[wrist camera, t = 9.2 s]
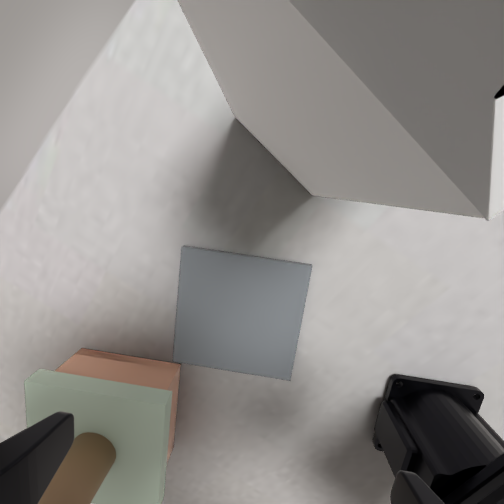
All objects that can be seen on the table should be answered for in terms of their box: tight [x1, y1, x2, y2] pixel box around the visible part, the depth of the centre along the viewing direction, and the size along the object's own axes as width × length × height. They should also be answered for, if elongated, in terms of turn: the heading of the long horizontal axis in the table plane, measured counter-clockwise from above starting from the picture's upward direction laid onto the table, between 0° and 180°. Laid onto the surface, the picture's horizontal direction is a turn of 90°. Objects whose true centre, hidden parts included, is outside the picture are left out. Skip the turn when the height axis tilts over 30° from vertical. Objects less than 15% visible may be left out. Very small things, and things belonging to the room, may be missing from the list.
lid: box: [24, 369, 172, 504], centre depth 16 cm, size 9×9×6 cm
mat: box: [173, 246, 312, 381], centre depth 20 cm, size 9×9×1 cm
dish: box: [55, 348, 181, 463], centre depth 21 cm, size 8×8×4 cm
